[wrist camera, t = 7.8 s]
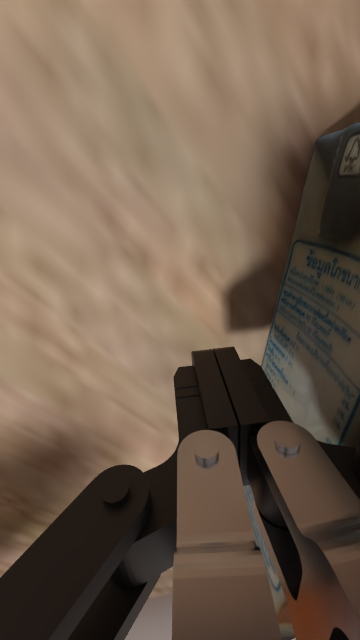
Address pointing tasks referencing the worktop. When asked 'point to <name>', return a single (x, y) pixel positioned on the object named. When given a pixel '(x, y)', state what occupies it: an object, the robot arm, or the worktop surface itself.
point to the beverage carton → (319, 316)
